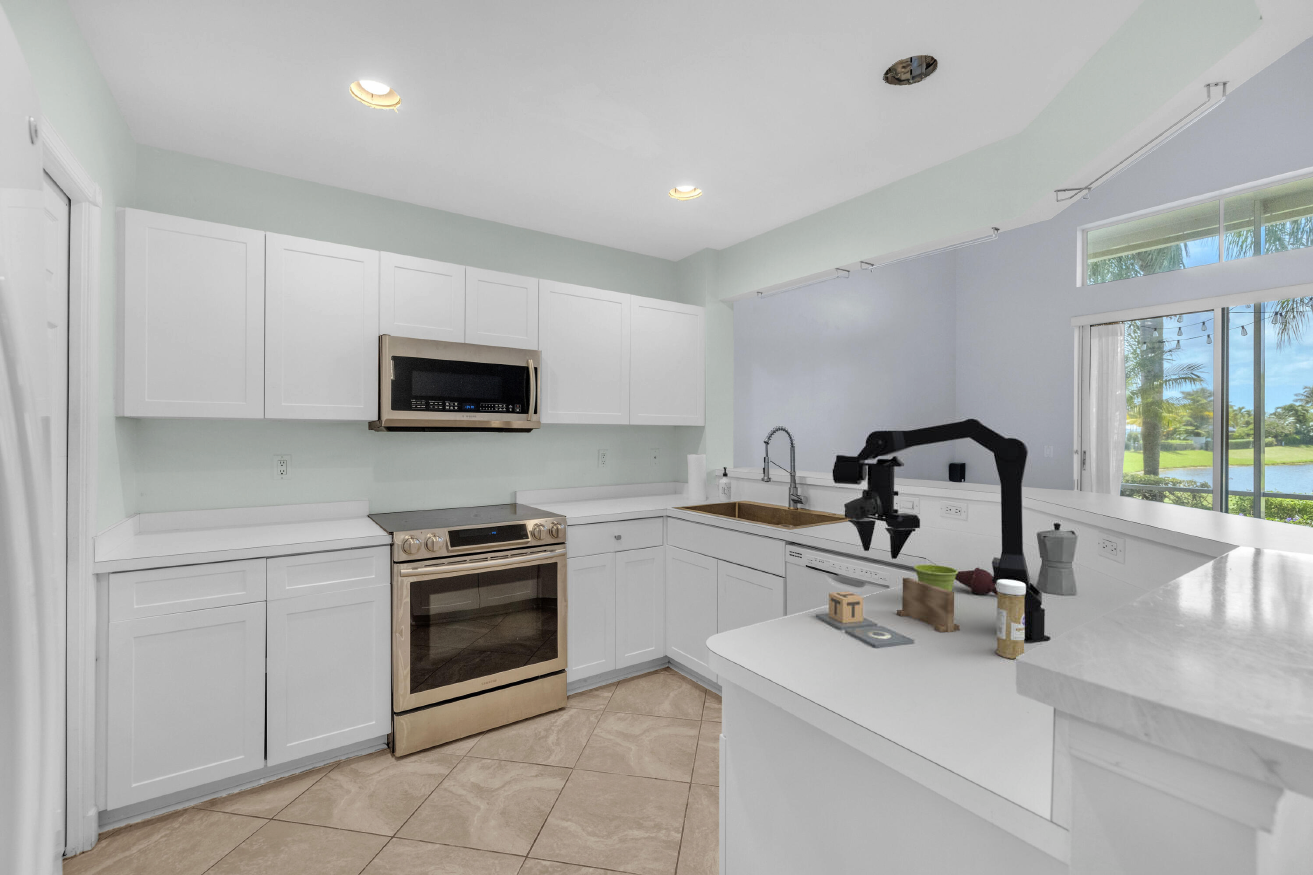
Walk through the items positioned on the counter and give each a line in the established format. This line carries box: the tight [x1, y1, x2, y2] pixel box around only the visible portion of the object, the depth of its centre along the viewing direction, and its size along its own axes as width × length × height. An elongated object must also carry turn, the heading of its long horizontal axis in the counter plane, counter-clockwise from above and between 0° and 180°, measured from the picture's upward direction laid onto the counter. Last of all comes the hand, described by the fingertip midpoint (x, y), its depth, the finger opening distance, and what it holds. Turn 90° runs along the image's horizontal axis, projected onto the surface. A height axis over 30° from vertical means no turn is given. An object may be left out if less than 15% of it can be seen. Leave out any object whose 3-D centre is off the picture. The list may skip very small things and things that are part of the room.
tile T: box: [814, 612, 878, 631], centre depth 124 cm, size 9×9×1 cm
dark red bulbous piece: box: [954, 567, 998, 596], centre depth 149 cm, size 7×7×15 cm
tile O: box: [844, 625, 915, 649], centre depth 114 cm, size 9×9×1 cm
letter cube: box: [828, 591, 864, 623], centre depth 124 cm, size 5×5×5 cm
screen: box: [896, 577, 961, 633], centre depth 124 cm, size 13×5×8 cm, turn 18°
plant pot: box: [913, 564, 958, 592], centre depth 138 cm, size 9×9×9 cm
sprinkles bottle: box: [995, 579, 1026, 660], centre depth 105 cm, size 5×5×14 cm
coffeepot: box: [1035, 522, 1078, 597], centre depth 153 cm, size 15×9×18 cm, turn 118°
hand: (879, 554), depth 131 cm, fingers open, 9 cm apart
